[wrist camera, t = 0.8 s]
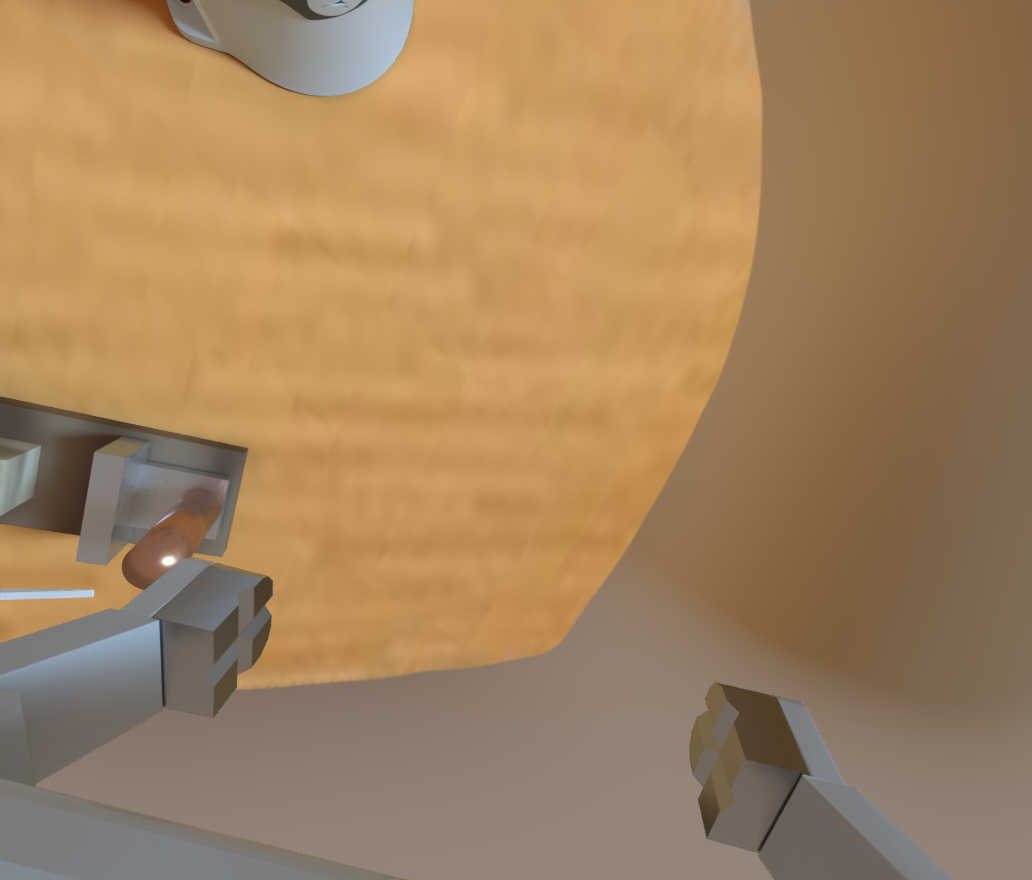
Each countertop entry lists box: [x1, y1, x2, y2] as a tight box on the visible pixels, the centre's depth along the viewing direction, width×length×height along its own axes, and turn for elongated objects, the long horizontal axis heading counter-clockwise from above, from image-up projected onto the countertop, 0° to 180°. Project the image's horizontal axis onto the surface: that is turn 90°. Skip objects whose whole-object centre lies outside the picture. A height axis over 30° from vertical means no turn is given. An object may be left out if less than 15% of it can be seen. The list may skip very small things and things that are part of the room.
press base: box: [0, 397, 248, 557], centre depth 40 cm, size 20×9×6 cm, turn 73°
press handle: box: [76, 436, 231, 590], centre depth 38 cm, size 8×8×11 cm
